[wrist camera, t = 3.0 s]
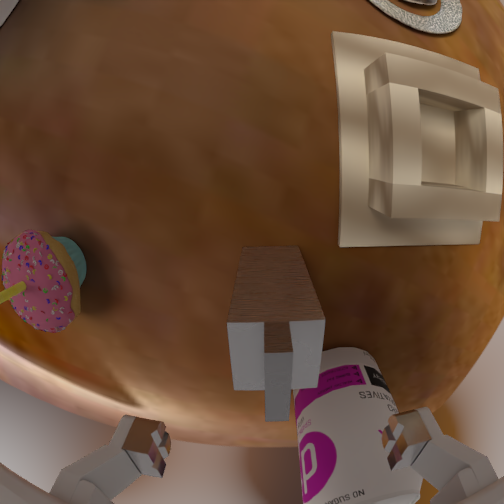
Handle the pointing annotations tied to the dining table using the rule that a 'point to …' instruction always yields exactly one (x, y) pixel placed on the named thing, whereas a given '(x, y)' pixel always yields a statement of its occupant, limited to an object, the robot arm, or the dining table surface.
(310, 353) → the grey long block
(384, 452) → the supplement can
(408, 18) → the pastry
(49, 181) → the dining table surface
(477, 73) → the well
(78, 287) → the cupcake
